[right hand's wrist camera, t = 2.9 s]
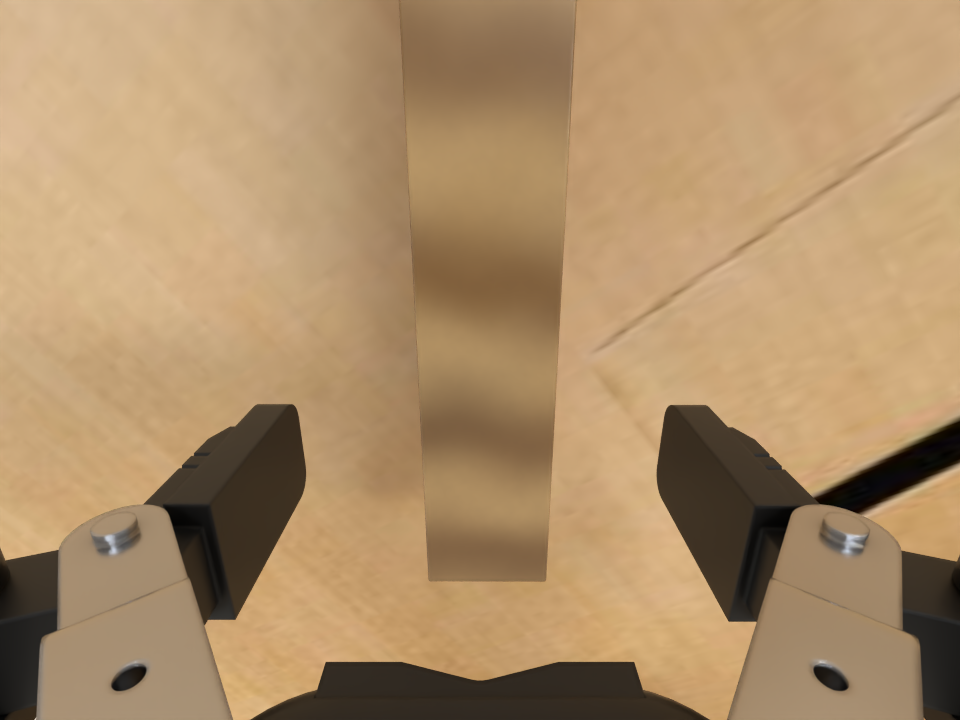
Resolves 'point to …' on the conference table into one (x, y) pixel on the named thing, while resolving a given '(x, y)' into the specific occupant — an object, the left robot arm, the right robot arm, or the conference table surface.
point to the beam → (487, 270)
